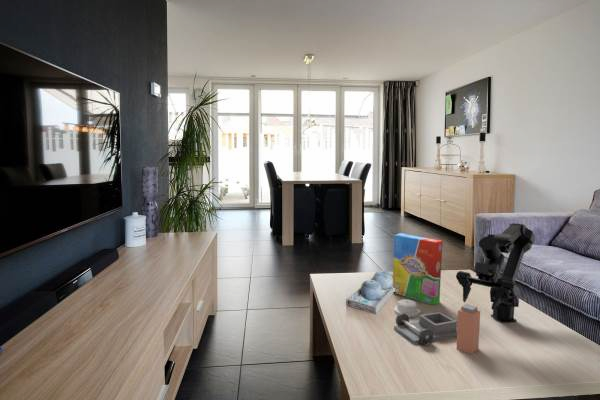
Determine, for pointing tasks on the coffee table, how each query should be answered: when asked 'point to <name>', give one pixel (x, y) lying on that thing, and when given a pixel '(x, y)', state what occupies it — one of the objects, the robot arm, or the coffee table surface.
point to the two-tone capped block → (468, 328)
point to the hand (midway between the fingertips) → (477, 305)
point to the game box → (417, 267)
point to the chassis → (426, 327)
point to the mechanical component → (407, 308)
